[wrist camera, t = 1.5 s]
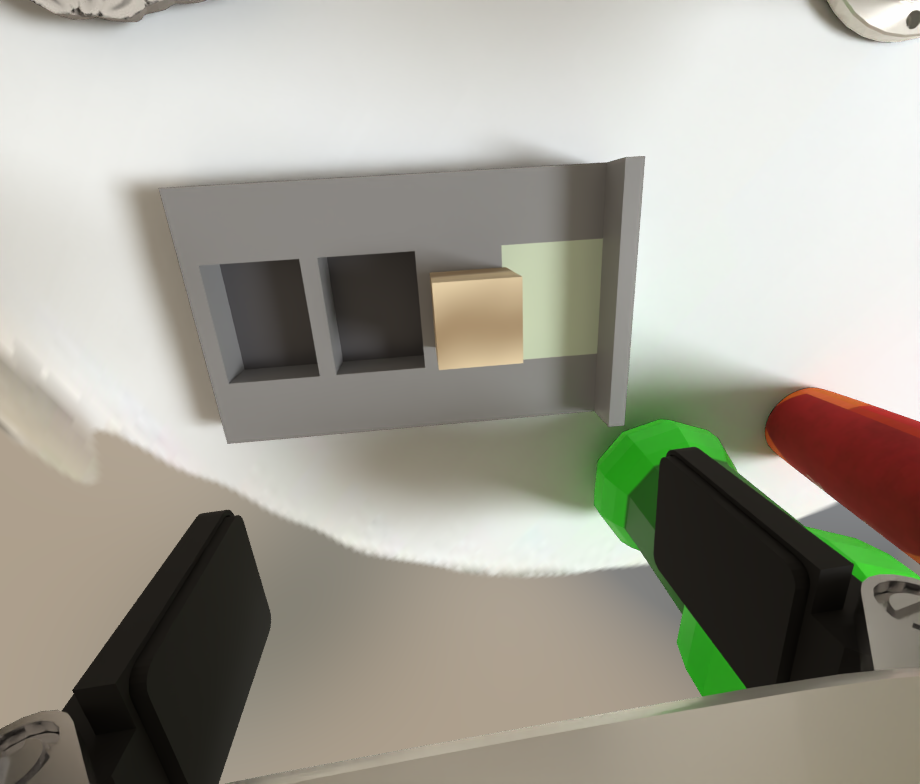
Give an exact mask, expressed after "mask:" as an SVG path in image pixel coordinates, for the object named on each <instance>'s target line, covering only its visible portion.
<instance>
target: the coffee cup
mask: <svg viewBox="0 0 920 784" xmlns="http://www.w3.org/2000/svg"><path fill="white" fill-rule="evenodd" d="M765 437H766V441H767V443H768V445H769V446H770V448H771V449H772V450H773V451H774V452H775V453H776V454H778V455H779V456H780V457H781V458H782V459H784V460H785V461H786V462H787V463H789V464H790V465H791V466H792V467H794V468H795V469H796V470H798V471H799V472H800V473H801V474H803V475H804V476H805V477H807V478H808V479H809V480H810V481H812V482H813V483H814V484H816V485H817V486H818V487H819V488H821V489H822V490H823V491H825V492H826V493H827V494H829V495H830V496H831V497H832V498H834V499H835V500H836V501H838V502H839V503H840V504H842V505H843V506H844V507H846V508H847V509H848V510H849V511H851V512H852V513H854V514H855V515H856V516H857V517H859V518H860V519H861V520H863V521H864V522H865V523H866V524H868V525H869V526H870V527H872V528H873V529H874V530H876V531H877V532H878V533H879V534H881V535H882V536H883V537H885V538H886V539H887V540H889V541H890V542H891V543H893V544H894V545H895V546H897V547H898V548H899V549H900V550H902V551H903V552H904V553H906V554H907V555H908V556H910V557H911V558H912V559H914V560H915V561H916V562H917V563H919V564H920V422H919V421H916V420H913V419H910V418H907V417H904V416H901V415H899V414H896V413H893V412H890V411H887V410H884V409H881V408H878V407H876V406H873V405H870V404H867V403H864V402H861V401H858V400H855V399H852V398H849V397H846V396H843V395H840V394H837V393H834V392H831V391H827V390H824V389H819V388H805V389H801V390H798V391H796V392H793V393H791V394H790V395H788V396H787V397H785V398H784V399H783V400H781V401H780V402H779V403H778V404H777V405H776V407H775V408H774V409H773V410H772V412H771V414H770V415H769V417H768V420H767V423H766V427H765Z"/></svg>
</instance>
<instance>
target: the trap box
mask: <svg viewBox="0 0 920 784" xmlns="http://www.w3.org/2000/svg"><path fill="white" fill-rule="evenodd" d="M644 165H645V156H638V157H625V158H621V159H618V160H614V161H611V162H607V163H590V164H572V165H555V166H537V167H520V168H502V169H485V170H468V171H450V172H433V173H415V174H398V175H380V176H363V177H345V178H328V179H310V180H293V181H275V182H258V183H240V184H223V185H205V186H188V187H170V188H159V191H160V195H161V199H162V202H163V206H164V210H165V213H166V217H167V221H168V224H169V228H170V232H171V236H172V239H173V243H174V247H175V250H176V254H177V258H178V262H179V265H180V269H181V273H182V276H183V280H184V284H185V288H186V291H187V295H188V299H189V302H190V306H191V310H192V314H193V317H194V321H195V325H196V328H197V332H198V336H199V340H200V343H201V347H202V351H203V354H204V358H205V362H206V366H207V369H208V373H209V377H210V380H211V384H212V388H213V392H214V395H215V399H216V403H217V406H218V410H219V414H220V418H221V421H222V425H223V429H224V432H225V436H226V440H227V444H231V443H242V442H253V441H264V440H275V439H286V438H298V437H309V436H320V435H331V434H342V433H353V432H364V431H376V430H387V429H398V428H409V427H420V426H431V425H443V424H454V423H465V422H476V421H487V420H498V419H509V418H521V417H532V416H543V415H554V414H565V413H576V412H588V411H595V412H596V413H597V414H598V416H599V417H600V418H601V419H602V420H603V421H604V422H605V423H606V424H607V426H608V427H611V426H622V425H624V423H625V410H626V397H627V384H628V371H629V358H630V346H631V333H632V320H633V307H634V294H635V281H636V268H637V255H638V242H639V229H640V216H641V203H642V190H643V177H644ZM503 267H507V268H508V269H510V270H512V271H513V272H515V273H517V274H519V275H520V276H522V282H523V363H519V364H507V365H495V366H483V367H471V368H459V369H447V370H439V368H438V361H437V353H436V345H435V333H434V320H433V308H432V295H431V283H430V273H432V272H446V271H460V270H475V269H489V268H503Z"/></svg>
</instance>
